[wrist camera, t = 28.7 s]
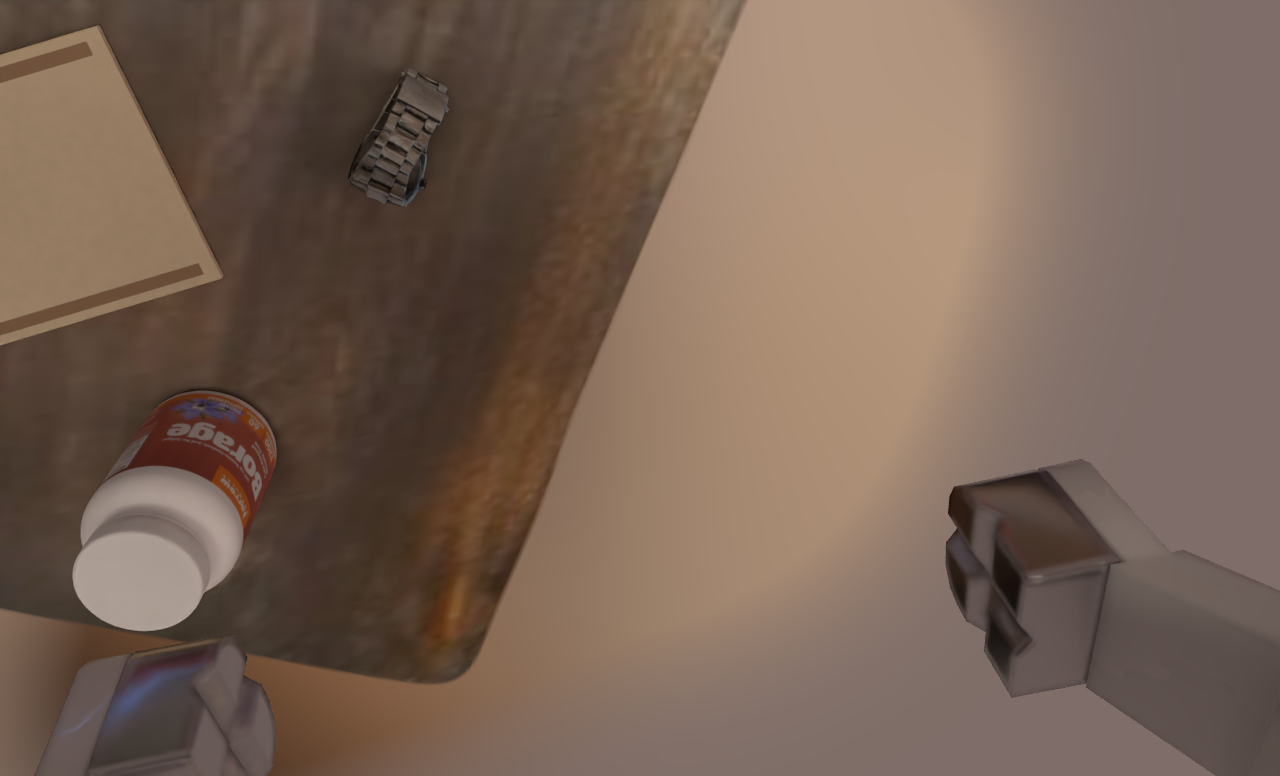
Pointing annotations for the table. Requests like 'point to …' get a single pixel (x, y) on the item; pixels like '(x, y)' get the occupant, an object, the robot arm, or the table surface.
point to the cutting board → (85, 193)
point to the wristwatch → (400, 141)
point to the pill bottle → (174, 510)
